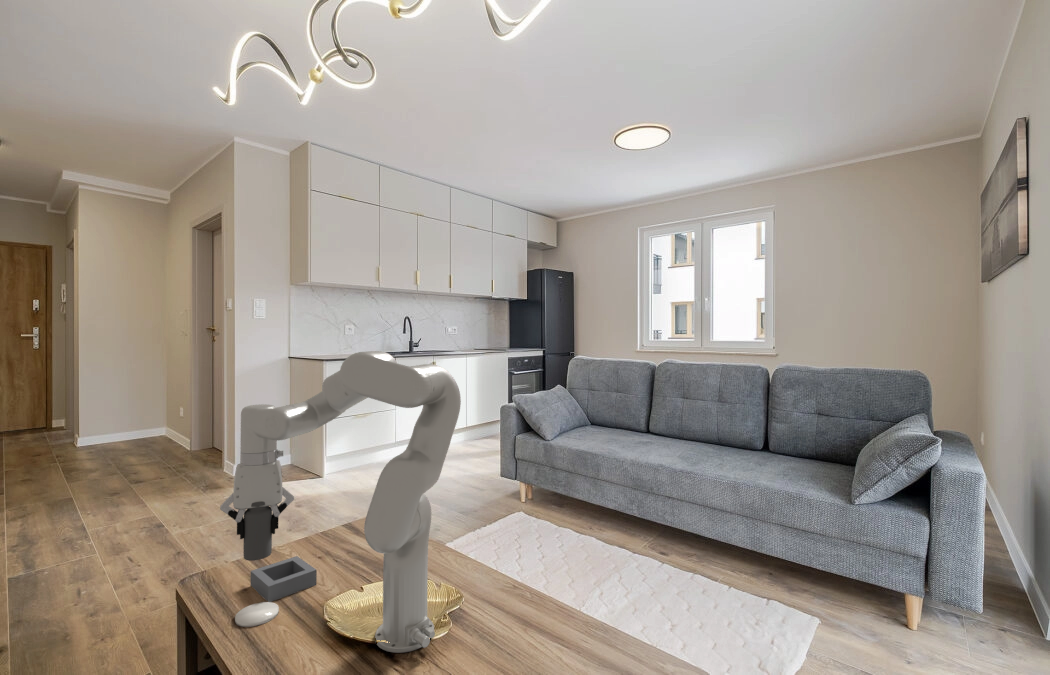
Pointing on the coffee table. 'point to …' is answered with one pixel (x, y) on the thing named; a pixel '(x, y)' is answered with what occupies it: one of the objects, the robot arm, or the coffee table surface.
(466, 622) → the coffee table surface
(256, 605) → the white round part
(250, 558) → the bottle
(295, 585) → the square frame
